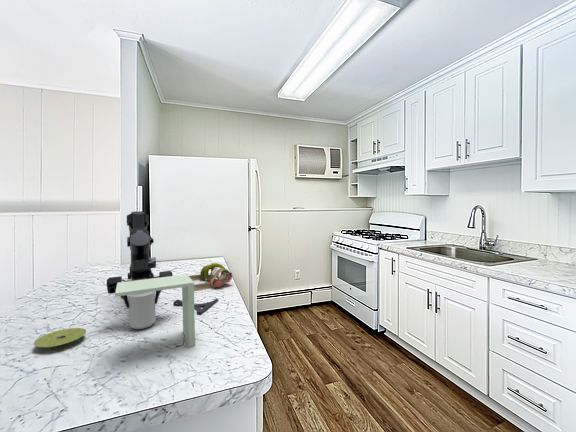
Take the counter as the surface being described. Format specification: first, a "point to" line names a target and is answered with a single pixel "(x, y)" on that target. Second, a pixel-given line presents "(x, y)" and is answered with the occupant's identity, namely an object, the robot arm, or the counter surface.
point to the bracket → (198, 305)
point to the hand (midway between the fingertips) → (142, 305)
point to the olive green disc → (60, 337)
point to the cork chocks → (202, 285)
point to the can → (141, 310)
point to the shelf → (164, 284)
